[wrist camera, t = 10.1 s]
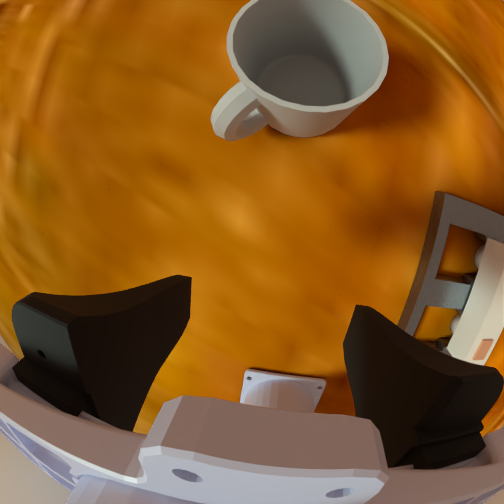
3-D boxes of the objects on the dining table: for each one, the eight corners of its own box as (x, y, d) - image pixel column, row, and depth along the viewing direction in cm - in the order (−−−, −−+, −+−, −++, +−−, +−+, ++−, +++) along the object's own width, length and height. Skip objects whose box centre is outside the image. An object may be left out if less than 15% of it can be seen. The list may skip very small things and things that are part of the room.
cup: (367, 106, 17) (417, 68, 8) (263, 180, 19) (244, 186, 11) (305, 39, 16) (313, -29, 7) (204, 109, 18) (149, 74, 10)
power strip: (461, 339, 21) (484, 367, 16) (439, 338, 21) (461, 369, 16) (497, 240, 18) (531, 256, 12) (476, 232, 18) (511, 249, 13)
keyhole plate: (465, 358, 21) (471, 366, 20) (383, 358, 22) (387, 368, 21) (515, 222, 17) (525, 226, 15) (435, 191, 18) (445, 192, 16)
